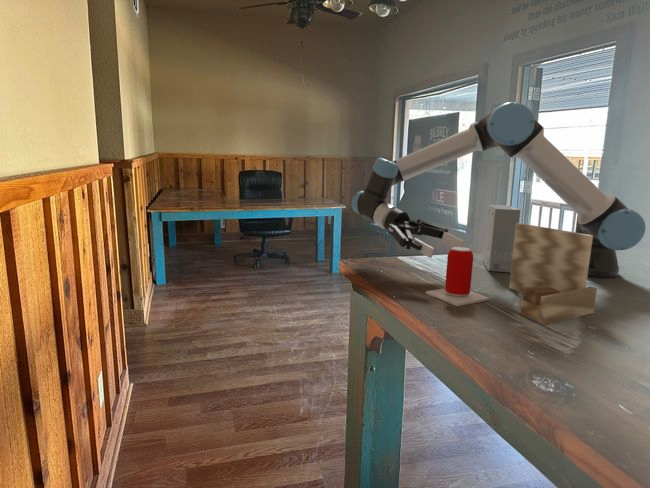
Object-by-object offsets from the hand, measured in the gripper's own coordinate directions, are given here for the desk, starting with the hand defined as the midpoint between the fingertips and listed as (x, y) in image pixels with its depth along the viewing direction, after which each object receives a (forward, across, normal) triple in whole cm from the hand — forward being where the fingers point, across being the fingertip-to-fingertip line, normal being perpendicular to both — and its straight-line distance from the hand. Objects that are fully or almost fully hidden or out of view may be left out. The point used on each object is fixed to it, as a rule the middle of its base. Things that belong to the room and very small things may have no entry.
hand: (447, 249), depth 124 cm
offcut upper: (+28, +3, +1) cm, 28 cm away
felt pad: (+11, +7, -7) cm, 15 cm away
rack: (+24, -3, -4) cm, 24 cm away
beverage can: (+10, +7, -7) cm, 14 cm away
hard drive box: (0, -33, -12) cm, 35 cm away
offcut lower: (+29, +3, -3) cm, 30 cm away
